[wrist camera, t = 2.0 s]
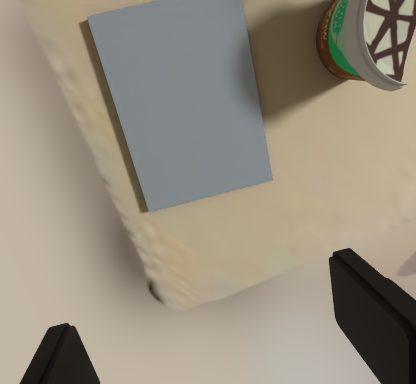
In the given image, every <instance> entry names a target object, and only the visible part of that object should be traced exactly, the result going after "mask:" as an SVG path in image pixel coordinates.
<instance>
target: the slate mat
mask: <svg viewBox="0 0 416 384" xmlns="http://www.w3.org/2000/svg"><path fill="white" fill-rule="evenodd" d="M87 19H88V23H89V26H90V29H91V32H92V35H93V38H94V41H95V44H96V48H97V51H98V54H99V57H100V60H101V63H102V66H103V70H104V73H105V76H106V79H107V82H108V85H109V88H110V91H111V95H112V98H113V101H114V104H115V107H116V110H117V113H118V117H119V120H120V123H121V126H122V129H123V132H124V135H125V138H126V142H127V145H128V148H129V151H130V154H131V157H132V160H133V164H134V167H135V170H136V173H137V176H138V179H139V182H140V185H141V189H142V192H143V195H144V198H145V201H146V204H147V207H148V211H149V213H150V212H153V211H157V210H161V209H165V208H169V207H172V206H176V205H180V204H184V203H188V202H191V201H195V200H199V199H203V198H207V197H211V196H214V195H218V194H222V193H226V192H230V191H233V190H237V189H241V188H245V187H249V186H252V185H256V184H260V183H264V182H268V181H272V180H273V178H272V172H271V166H270V160H269V154H268V149H267V143H266V137H265V131H264V125H263V119H262V114H261V108H260V102H259V96H258V90H257V84H256V79H255V73H254V67H253V61H252V55H251V49H250V44H249V38H248V32H247V26H246V20H245V14H244V9H243V3H242V0H157V1H153V2H148V3H144V4H140V5H135V6H131V7H127V8H123V9H118V10H114V11H110V12H105V13H101V14H97V15H92V16H88V17H87Z"/></svg>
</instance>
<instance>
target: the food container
mask: <svg viewBox="0 0 416 384" xmlns="http://www.w3.org/2000/svg"><path fill="white" fill-rule="evenodd" d="M415 27H416V0H335V1H334V2H333V3H331V5H330V6H329V7H328V9H327V10H326V11H325V13H324V14H323V15H322V18H321V21H320V23H319V26H318V30H317V37H316V44H317V51H318V54H319V57H320V60H321V61H322V63H323V65H324V66H325V67H326V68H327V69H328V70H329V71H330V72H331V73H332V74H334V75H336V76H338V77H340V78H344V79H351V80H360V81H367V82H368V83H370V84H371V85H373V86H375V87H377V88H380V89H383V90H387V91H394V90H397V89H401V88H403V85H409V84H407V83H402V82H401V80H402V76H403V70H404V64H405V60H406V56H407V52H408V48H409V45H410V42H411V39H412V36H413V33H414V30H415Z"/></svg>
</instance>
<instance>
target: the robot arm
mask: <svg viewBox="0 0 416 384" xmlns="http://www.w3.org/2000/svg"><path fill="white" fill-rule="evenodd" d="M329 265H330V275H331V283H332V284H331V285H332V294H333V303H334V312H335V318H336V321H337V323H338V325H339V327H340V328H341V330H342V331H343V332H344V334H345V335H346V337H347V338H348V339H349V340H350V342H351V343H352V345H353V346H354V347H355V349H356V350H357V352H358V353H359V354H360V356H361V357H362V358H363V360H364V361H365V362H366V364H367V365H368V366H369V368H370V369H371V370H372V372H373V373H374V375H375V376H376V377H377V379H378V380H379V381H380V383H381V384H416V300H415V299H414V298H412V297H411V296H410V295H409V294H407V293H406V292H405V291H404V290H403V289H401V288H400V287H399V286H398V285H397V284H395V283H394V282H393V281H392V280H390V279H389V278H385V277H384V276H383V275H381V274H380V273H379V272H378V271H376V270H375V269H374V268H373V267H372V266H371V265H369V264H368V263H367V262H366V261H365V260H364V259H362V258H361V257H360V256H359V255H357V254H356V253H355V252H354V251H353V250H352V249H350V248H347V249H343V250H339V251H335V252H333V257H330V258H329ZM20 384H100V381H99V378H98V376H97V374H96V372H95V370H94V367H93V365H92V363H91V361H90V359H89V357H88V354H87V352H86V350H85V348H84V345H83V343H82V341H81V339H80V336H79V334H78V332H77V330H76V328H75V327H74V326H70V325H69V324H68V323H64V324H60V325H57V326H53V327H50V328H49V329H48V330H47V332H46V334H45V336H44V338H43V340H42V342H41V344H40V345H39V348H38V349H37V351H36V353H35V355H34V357H33V359H32V361H31V363H30V365H29V367H28V368H27V370H26V373H25V374H24V376H23V378H22V380H21V382H20Z"/></svg>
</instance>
